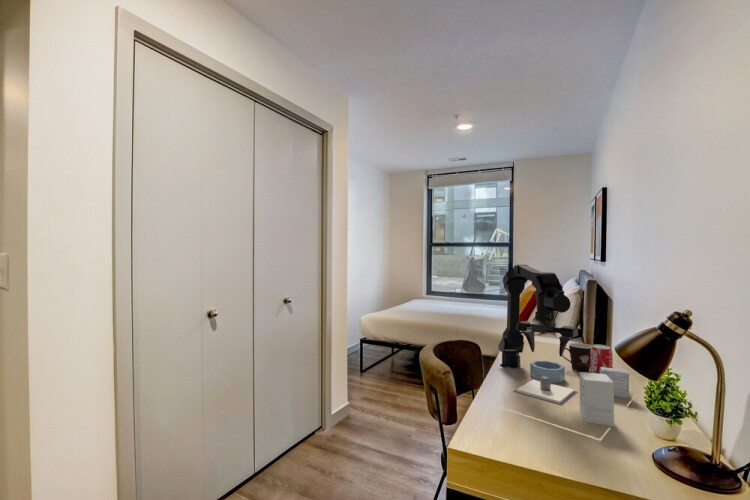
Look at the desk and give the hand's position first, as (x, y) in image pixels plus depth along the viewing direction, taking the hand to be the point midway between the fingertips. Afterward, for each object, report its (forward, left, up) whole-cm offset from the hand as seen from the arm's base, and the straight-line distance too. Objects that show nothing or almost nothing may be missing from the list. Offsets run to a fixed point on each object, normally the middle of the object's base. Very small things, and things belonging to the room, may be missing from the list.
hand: (546, 354), depth 125 cm
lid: (0, 0, -13) cm, 13 cm away
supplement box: (+18, -10, -14) cm, 25 cm away
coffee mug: (-1, +36, -14) cm, 38 cm away
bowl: (-5, +15, -14) cm, 21 cm away
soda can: (+10, +28, -14) cm, 32 cm away
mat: (0, 0, -14) cm, 14 cm away
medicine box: (+17, +15, -14) cm, 26 cm away
